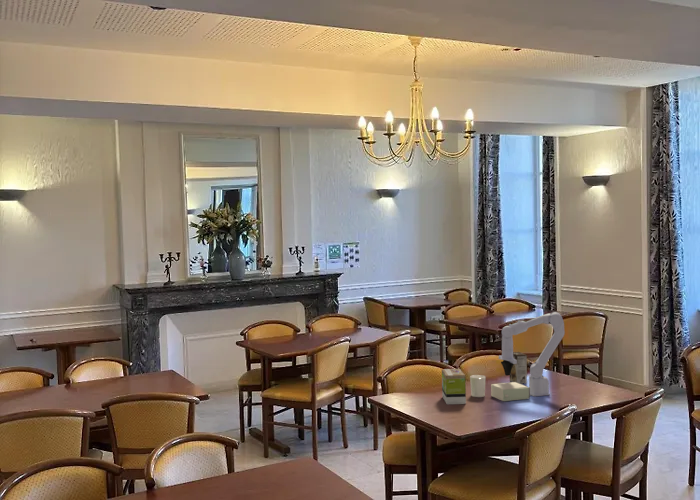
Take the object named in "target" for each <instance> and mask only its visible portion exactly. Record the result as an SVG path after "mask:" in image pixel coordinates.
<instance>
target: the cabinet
mask: <svg viewBox="0 0 700 500" xmlns="http://www.w3.org/2000/svg"><path fill="white" fill-rule="evenodd" d="M527 387H528V386H527V385H524V384H519V383H516V382H512V381H510V382H500V383H491V385H490V389H491V391H490V396H491V397H493V398H495V399H498V400H500V401H502V402H504V401H503V390H507V389H517V388H527Z"/></svg>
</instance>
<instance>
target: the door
mask: <svg viewBox="0 0 700 500" xmlns="http://www.w3.org/2000/svg"><path fill="white" fill-rule="evenodd" d="M529 399H531V395H530V387H529V386H527V388H517V389H507V390H503V401H502V402H509V401H519V400H529Z"/></svg>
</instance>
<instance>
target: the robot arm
mask: <svg viewBox="0 0 700 500" xmlns="http://www.w3.org/2000/svg"><path fill="white" fill-rule="evenodd" d="M541 324H546V325H551V326H552V329H553V331H554V332H553V334H552V336H551V337H550V339H549V341H548V342H547V343H546V345H545V347H544V348H543V350H542V352H541V353H540V355H539V357H538V358H537V359H536V360H535V362H533V363H532V364H531V365H530V366H529V367H530V368H529V373H530V375H528V387H530V396H533V397H542V396H550V394H551V393H550V382H549V379H548V377H547V376H544V375H543V374H544V372H543V371H544V370H545V367H546V365H547V363H548V362H549V360H550V358H551V357H552V355H553V353H554V352H555V351H556V350H557V349H556V348H557V347H558V345H559V344H560V342H561V341H562V339H563V338H564V336H565V334H566V331H565V321H564V319H563V316H562V314H561V313H560V312H557V311H552V312H550V313H546V314H542V315H539V316H538V317H535V318H532V319H529V320H527V321H524V320H517V322H515V323H512V324H511V323H509V324H508V325H506V326H504V327H502V329H501V355H500V354H499V355H498V360H502V361H500V364H501V365H502V368H503V370H504V371H503V372H504V374H505V375H504V376H510V373H511V370H512V367H513V365H514V364H517V360H516V359H514V358H513V352H514V340H513V339H514V338H513V336H517V335H519V334H522V333H525V332H527V331H528V329H529V328H533V327H534V326H537V325H541Z"/></svg>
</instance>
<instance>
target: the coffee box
mask: <svg viewBox="0 0 700 500" xmlns="http://www.w3.org/2000/svg"><path fill="white" fill-rule="evenodd" d="M513 358H514V359H516V360H517V364H514V365H513V367H512V370H511V373H510V375H509V381H510V382H516V383H519V384H521V385H524V384H528V367H527V366H528V360H527V359H528V355H527V354H525V353H523V352H520V351H513ZM523 383H524V384H523Z"/></svg>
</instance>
